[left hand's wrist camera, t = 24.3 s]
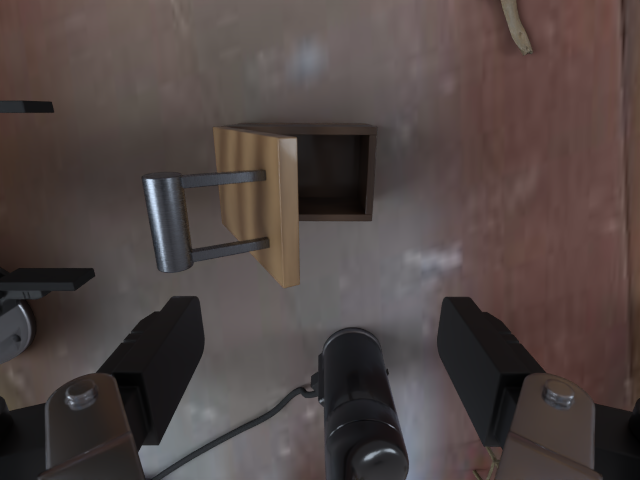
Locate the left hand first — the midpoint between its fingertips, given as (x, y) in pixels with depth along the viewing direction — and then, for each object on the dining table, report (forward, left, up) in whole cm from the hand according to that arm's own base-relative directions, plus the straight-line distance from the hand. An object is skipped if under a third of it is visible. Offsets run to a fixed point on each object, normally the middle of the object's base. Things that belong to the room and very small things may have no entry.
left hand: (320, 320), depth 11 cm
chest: (-2, +1, -36) cm, 36 cm away
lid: (-4, +4, -20) cm, 20 cm away
